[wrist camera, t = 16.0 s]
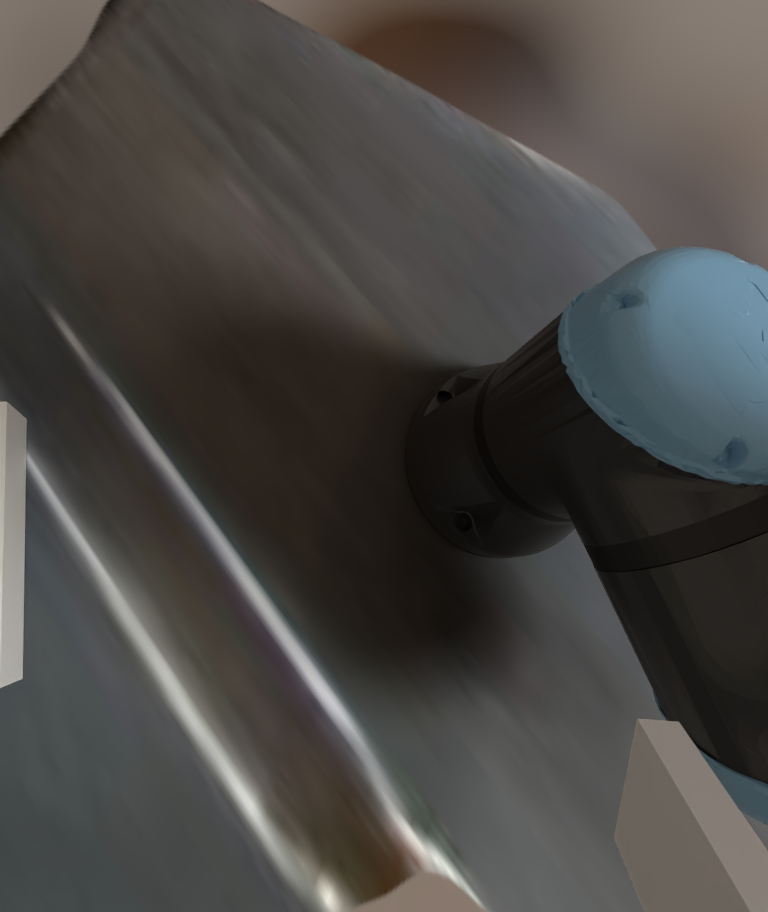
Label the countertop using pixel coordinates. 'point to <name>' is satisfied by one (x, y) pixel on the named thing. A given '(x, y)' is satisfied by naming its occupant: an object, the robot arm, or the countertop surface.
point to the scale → (12, 541)
